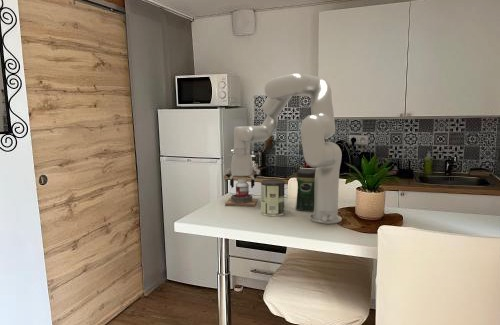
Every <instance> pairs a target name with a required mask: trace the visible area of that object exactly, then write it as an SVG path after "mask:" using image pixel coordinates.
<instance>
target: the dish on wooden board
mask: <svg viewBox="0 0 500 325" xmlns="http://www.w3.org/2000/svg"><path fill="white" fill-rule="evenodd" d="M257 203H258V198H255V197H254V198H253V195H252V194H249V197H245V198H237V197H236V193H235V194H231V196H230V197H229V198H228V200H227V201H226V202H225V204H224V207H246V208H248V207H249V208H251V207H252V208H253V207H255V206H256V204H257Z"/></svg>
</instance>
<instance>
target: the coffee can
mask: <svg viewBox="0 0 500 325" xmlns="http://www.w3.org/2000/svg"><path fill="white" fill-rule="evenodd" d="M285 184H286V181H284V180H280V179H263V180H260V188H261V189H260V190H261V191H260V193H261V194H260V195H261V196H260V199H261V200H260V206H261V207H260V209H261V210H260V214H261V215H263V216H267V217H280V216H283V215H285Z"/></svg>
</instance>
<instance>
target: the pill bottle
mask: <svg viewBox="0 0 500 325" xmlns="http://www.w3.org/2000/svg"><path fill="white" fill-rule="evenodd" d="M249 185H250V184H249V183H248V178H245V177H240V178H239V177H238V178H237V183H235V194H236V197H237V198H245V197H249V195H250V193H249V189H250V188H249Z"/></svg>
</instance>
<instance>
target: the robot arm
mask: <svg viewBox="0 0 500 325" xmlns="http://www.w3.org/2000/svg"><path fill="white" fill-rule="evenodd" d="M264 94H265V95H266V100H265V101H264V102H263V104H262V105H261V106H262V108H261V109H262V111H263V112H264V114H266V117H265V119H264V121H263V122H262V124H261V125H249V126H248V125H247V126H241V125H240V126H234V129H233V142H234V143H233V149H231V150H230V153H231V154H232V153H233V154H232V157H231V166H230V167H228V168H226V169H224V173H225V175H226V177H227V178H228V179H229V185H230V186H231V187H230V188H231V189H233V188H234V186H235V184H234V182H235V179H234V177H250V178H251V180H250V188H251V189H253V188H254V187H255V179H257V177H258V176H259V175H260V173H261V170H260V169H259V168H257V167H255V166H254V165H253V157H252V155H251V147H250V146H251V144H250V143H258V142H259V143H261V142H265V141H267V140H269V139H270V138H271V136H272V135H273V133H274V132H275V131H276V129H277V127H278V122H279V115H280V114H281V113H282V111H283V110H284V108H285V107H286V106H287V104H288V103H289V102H290V100H291V99H292V97H293V96H299V97H311V101H310V110H311V114H309V115H306V117H304V118H303V120H302V122H301V125H300V137H301V146H302V152H303V158H304V161H305V163H306V164H307V166H308V167H311V168H312V169H313V168H314V169H315V170H316V172H315V185H314V211H313V213H312V214H311V215H309V220H310V221H312V222H314V223H318V224H325V225H326V224H329V225H330V224H331V225H332V224H338V223H340V222H342V220H343V218H342V217H341V216H340V215H339V213H338V212H339V185H340V184H339V183H340V169H341V164H342V156H343V154H342V149H341V148H340V146H339V145H338V144H336V142H335V143H334V142H332V141H325V139H329V138H331V137H332V136H334V134H335V132H336V122H335V116H334V115H335V114H334V107H333V99H332V89H331V85H330V83H329V82H328V81H327V80H325V79H324V78H323V77H320V76H316V75H311V74H305V73H296V72H295V73H290V74H286V75H282V76H278V77H273V78H271V79H269V80H268V81H267V82H266V83H265V86H264ZM229 171H231V172H230V173H231V174H230V173H229ZM254 172H256V173H255V174H253V173H254Z"/></svg>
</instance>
